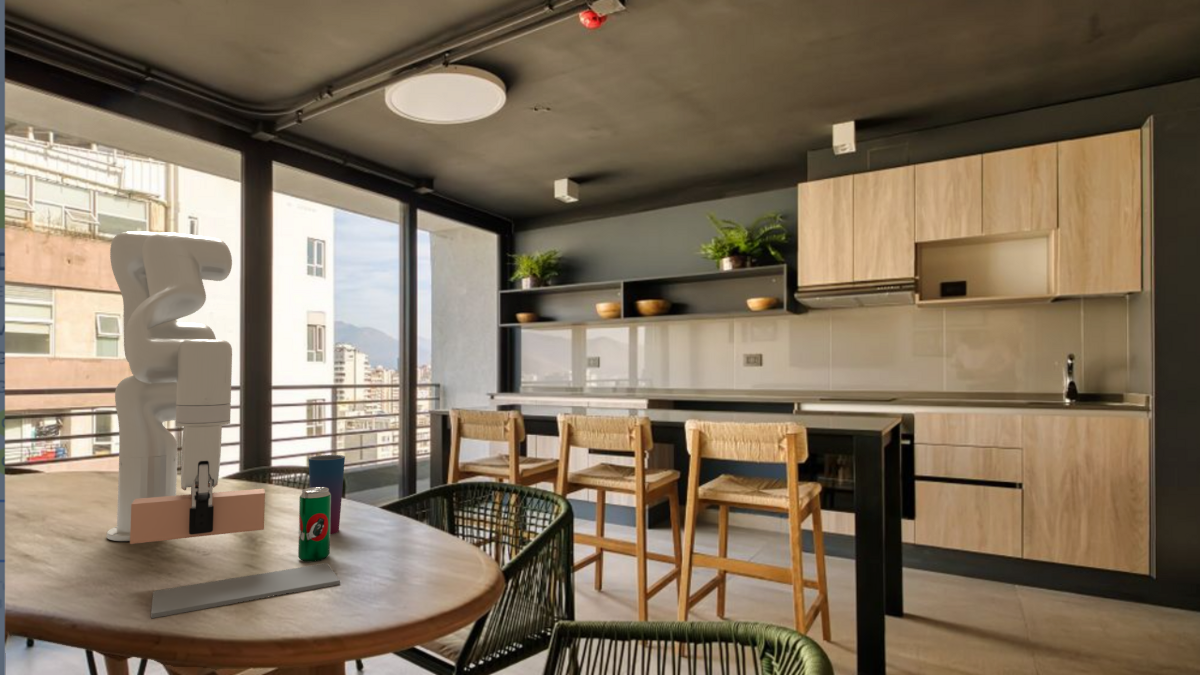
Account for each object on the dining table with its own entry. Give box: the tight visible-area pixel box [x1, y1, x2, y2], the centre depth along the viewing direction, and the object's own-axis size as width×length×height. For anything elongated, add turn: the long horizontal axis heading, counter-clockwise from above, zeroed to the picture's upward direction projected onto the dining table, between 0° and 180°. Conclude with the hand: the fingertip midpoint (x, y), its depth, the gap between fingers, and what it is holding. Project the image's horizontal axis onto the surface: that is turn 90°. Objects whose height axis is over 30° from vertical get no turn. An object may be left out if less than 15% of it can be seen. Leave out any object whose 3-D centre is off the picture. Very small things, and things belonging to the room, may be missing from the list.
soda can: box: [297, 487, 331, 563], centre depth 112 cm, size 5×5×12 cm
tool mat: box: [150, 563, 341, 619], centre depth 97 cm, size 10×24×1 cm, turn 124°
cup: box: [308, 454, 346, 535], centre depth 129 cm, size 7×7×15 cm
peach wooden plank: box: [129, 488, 266, 545], centre depth 103 cm, size 4×18×6 cm, turn 119°
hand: (200, 528), depth 103 cm, fingers closed on peach wooden plank, 4 cm apart
